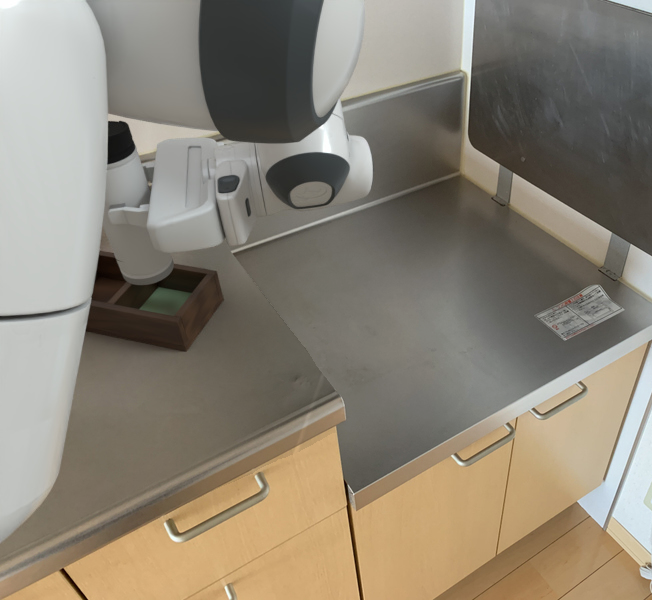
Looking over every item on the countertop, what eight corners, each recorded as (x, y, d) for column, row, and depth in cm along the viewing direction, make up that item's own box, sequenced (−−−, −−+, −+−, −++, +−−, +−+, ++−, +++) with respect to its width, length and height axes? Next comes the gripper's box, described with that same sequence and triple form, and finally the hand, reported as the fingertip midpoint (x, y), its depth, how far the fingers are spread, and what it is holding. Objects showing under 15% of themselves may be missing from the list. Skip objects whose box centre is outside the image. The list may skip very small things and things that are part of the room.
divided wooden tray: (186, 351, 82) (176, 322, 79) (52, 324, 86) (37, 295, 83) (224, 299, 90) (216, 270, 87) (100, 276, 94) (88, 248, 91)
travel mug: (112, 285, 76) (49, 136, 62) (138, 253, 80) (84, 108, 67) (159, 290, 75) (105, 140, 61) (182, 257, 80) (137, 112, 66)
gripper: (228, 119, 78) (114, 131, 76) (233, 205, 63) (92, 223, 61) (237, 164, 82) (130, 176, 80) (244, 253, 67) (112, 272, 65)
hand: (113, 197), depth 70 cm, fingers closed on travel mug, 6 cm apart
